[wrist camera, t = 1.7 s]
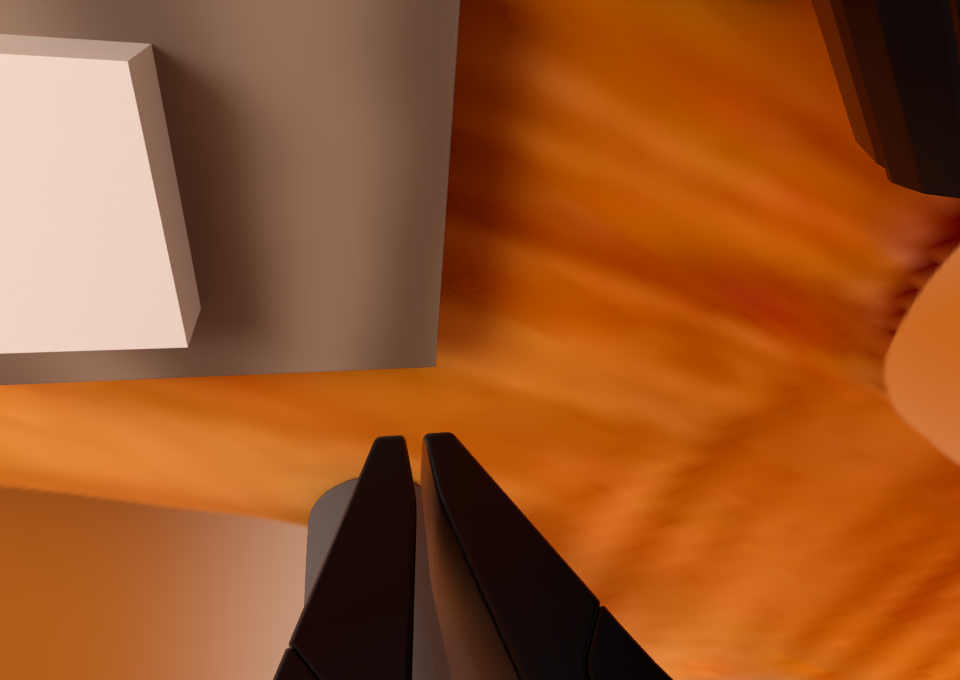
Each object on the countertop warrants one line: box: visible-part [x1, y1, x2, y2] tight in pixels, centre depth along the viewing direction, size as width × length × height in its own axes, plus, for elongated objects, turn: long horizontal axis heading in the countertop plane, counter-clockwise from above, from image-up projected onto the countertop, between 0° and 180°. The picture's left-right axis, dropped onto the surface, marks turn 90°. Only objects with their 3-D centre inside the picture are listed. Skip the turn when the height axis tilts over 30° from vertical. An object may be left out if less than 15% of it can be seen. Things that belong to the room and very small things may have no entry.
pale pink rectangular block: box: [0, 34, 201, 354], centre depth 14 cm, size 5×7×2 cm
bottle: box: [304, 478, 452, 680], centre depth 23 cm, size 6×6×15 cm
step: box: [0, 0, 460, 385], centre depth 17 cm, size 14×12×3 cm
